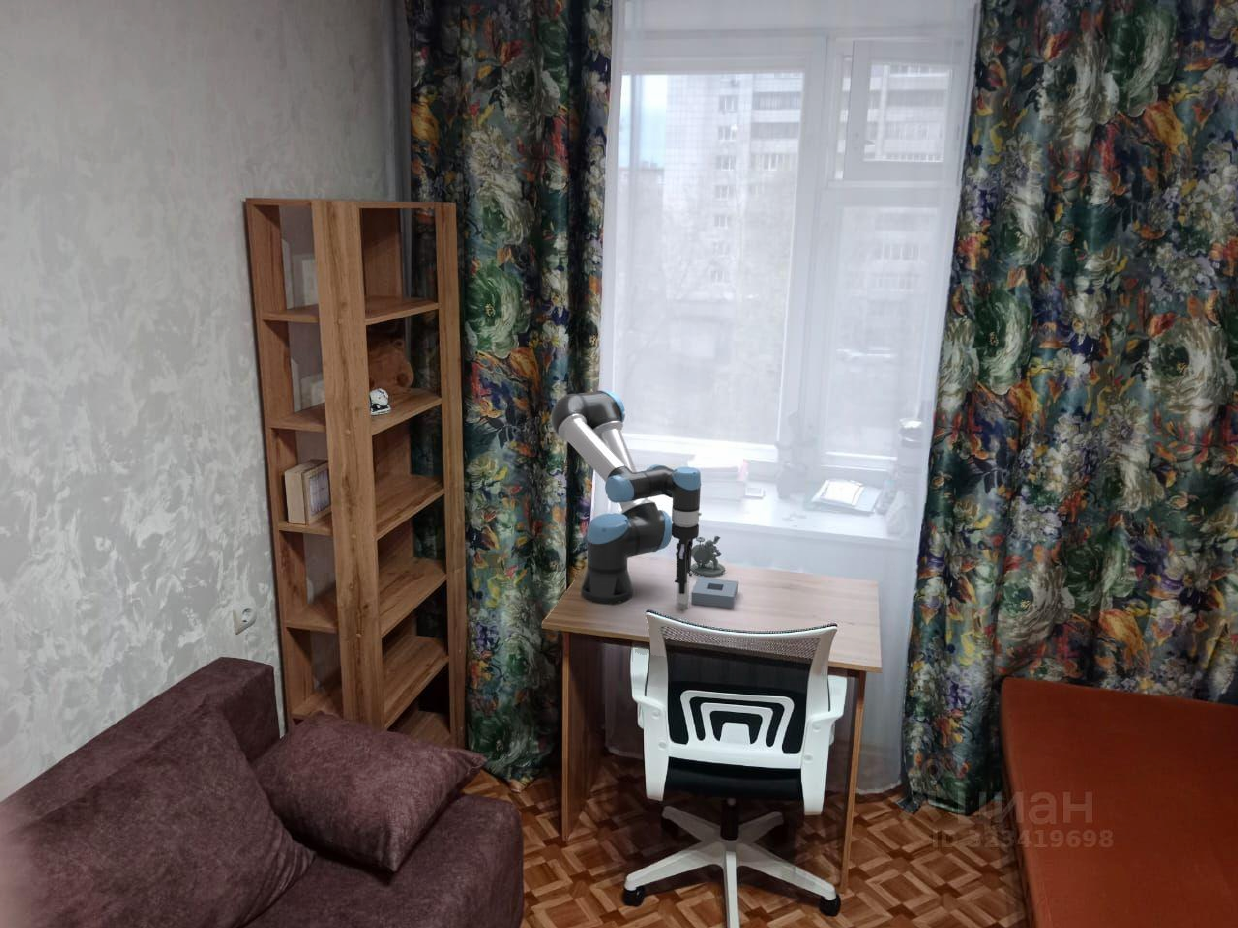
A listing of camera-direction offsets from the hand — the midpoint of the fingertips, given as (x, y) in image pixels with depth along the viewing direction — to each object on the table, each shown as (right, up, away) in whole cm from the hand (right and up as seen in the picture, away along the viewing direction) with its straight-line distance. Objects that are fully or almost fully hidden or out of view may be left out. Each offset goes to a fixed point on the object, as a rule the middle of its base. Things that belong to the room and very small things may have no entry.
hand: (682, 600), depth 262 cm
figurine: (+10, +5, +27) cm, 29 cm away
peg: (0, -2, +1) cm, 2 cm away
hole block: (+10, 0, +7) cm, 12 cm away
